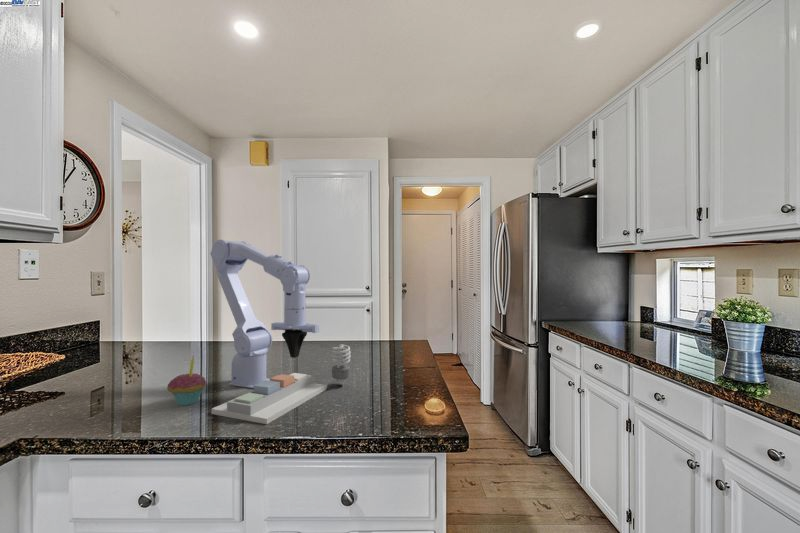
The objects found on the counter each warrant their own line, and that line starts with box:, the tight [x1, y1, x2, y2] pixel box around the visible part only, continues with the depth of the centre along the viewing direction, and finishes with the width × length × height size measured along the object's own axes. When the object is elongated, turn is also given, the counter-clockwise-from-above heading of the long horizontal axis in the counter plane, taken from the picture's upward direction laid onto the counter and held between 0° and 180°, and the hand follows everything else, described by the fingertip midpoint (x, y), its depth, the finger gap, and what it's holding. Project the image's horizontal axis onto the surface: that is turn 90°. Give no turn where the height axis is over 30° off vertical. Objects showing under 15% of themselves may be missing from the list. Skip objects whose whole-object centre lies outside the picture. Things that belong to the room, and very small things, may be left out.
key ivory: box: [289, 372, 308, 381], centre depth 103 cm, size 4×4×2 cm
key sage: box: [234, 392, 264, 404], centre depth 87 cm, size 4×4×2 cm
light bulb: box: [331, 343, 352, 386], centre depth 108 cm, size 6×6×12 cm
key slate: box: [253, 380, 280, 395], centre depth 92 cm, size 4×4×2 cm
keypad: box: [211, 372, 328, 425], centre depth 95 cm, size 16×25×3 cm, turn 160°
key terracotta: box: [269, 373, 294, 388], centre depth 98 cm, size 4×4×2 cm
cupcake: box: [166, 355, 207, 406], centre depth 93 cm, size 9×8×12 cm
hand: (294, 356), depth 103 cm, fingers closed
